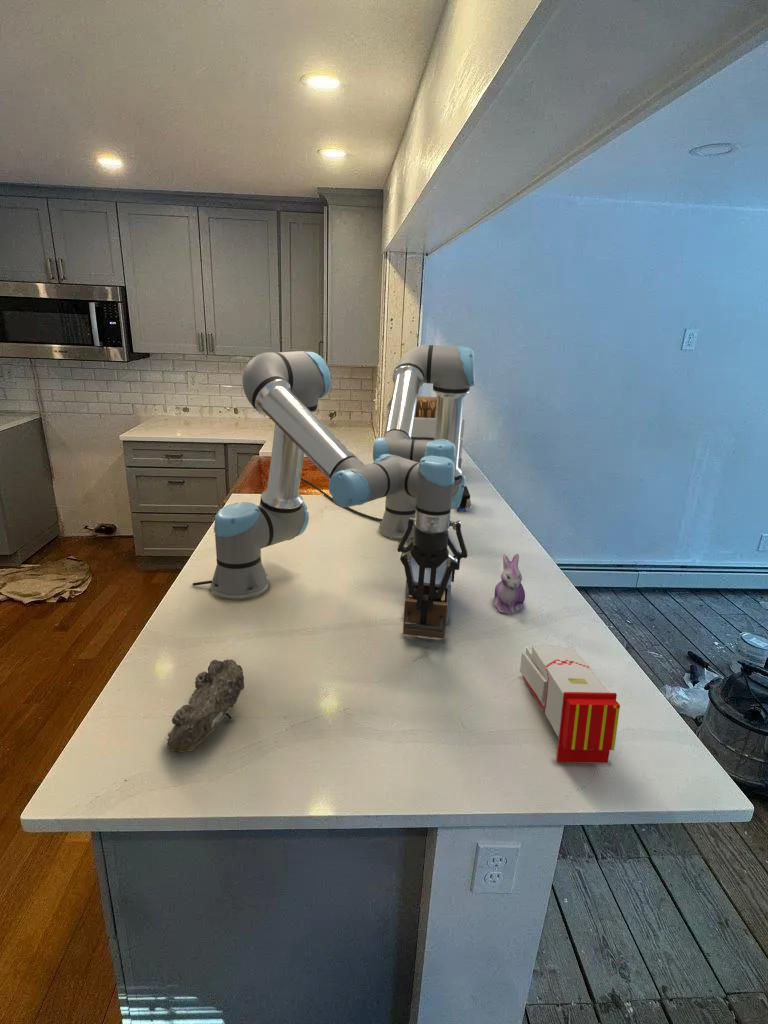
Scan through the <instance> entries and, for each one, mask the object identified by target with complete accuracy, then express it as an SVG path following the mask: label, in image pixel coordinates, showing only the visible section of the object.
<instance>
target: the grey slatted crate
mask: <svg viewBox="0 0 768 1024" xmlns="http://www.w3.org/2000/svg"><path fill="white" fill-rule="evenodd" d="M391 399H392V397H391V398H390V400H389V402H388V404H387V405H386V413H385V414H386V415H385V423H387V418H388V413H389V408H390V404H391ZM436 404H437V396H418V398H417V404H416V410H415V416H414V423H413V429H412V435H411V440H424V441H434V433H435V418H436ZM464 429H465V419H464V418H462V425H461V436H460V447H459V459H458V467H459V469H460V470H461V471H462V461H463V460H462V453H463V442H464V441H463V440H462V439H463V438H464V431H465V430H464Z"/></svg>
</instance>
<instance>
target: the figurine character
mask: <svg viewBox="0 0 768 1024" xmlns="http://www.w3.org/2000/svg"><path fill="white" fill-rule="evenodd" d="M471 501H472V500H471V494H470V491H469V488H468V486H467V485H464V491H463V495H462V499H461V503H460V506H459V507H458V508H457V509H456V511H457V512H460V510H463V511H464V513H466V512H467V509H470V508H471V505H472V504H471ZM466 508H467V509H466Z"/></svg>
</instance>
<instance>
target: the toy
mask: <svg viewBox="0 0 768 1024" xmlns="http://www.w3.org/2000/svg"><path fill="white" fill-rule="evenodd" d="M525 649H526V650H525V652H522V653H521V660H520V666H519V672H520V673H521V675H522V679H523V680H524V682H525V684H526V686H527V687H528V689H529V690H530V692H531V693H532V695H533V697H534V698H535V700H536V701H537V703H538V705H540V707H541V709H542V710H543V712H544V713H545V716H546V718H547V720H548V721H549V723H550V725H551V727H552V729H553V730H554V732H555V734H556V736H557V737H558V742H557V751H556V759H555V760H556V762H557V763H575V764H576V763H577V764H578V763H579V764H581V763H583V764H585V763H586V764H592V763H593V764H608V763H609V756H610V751H615V747H616V739H617V731H618V726H619V725H618V723H619V718H620V717H619V716H620V711H621V710H620V709H621V705H620V703H619V702H618V701H617V696H618V694H617V693H616V692H610V691H609V690H608V688H607V687H606V686H605V685H604V683H603V682H602V681H601V679H600V678H599V677H598V676H597V675H596V674H595V672H594V671H593V670H592V669H591V668H590V665H588V664H587V662H586V661H585V660H584V659H583V657H582V656H581V654H579V652H578V651H577V650H576V649H575V647H574V646H545V645H544V646H543V645H542V646H540V645H535V646H534V645H532V646H531V647H530V646H526V648H525Z"/></svg>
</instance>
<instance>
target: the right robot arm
mask: <svg viewBox="0 0 768 1024" xmlns="http://www.w3.org/2000/svg"><path fill="white" fill-rule="evenodd" d="M475 379H476V378H475V353H474V350H473V349H472V348H471V347H467V346H461V345H435V344H434V345H433V344H421V345H418V346H415V347H413V348H411V349H409V350H408V351H407V352H405V354H404V355H402V356H401V358H399V360H398V361H397V363H396V365H395V367H394V370H393V373H392V382H393V384H394V385H393V389H392V393H391V394H392V395H391V398H392V399H391V398H390V400H391V404H390V408H389V413H388V418H387V423H386V422H385V423H386V424H385V427H384V428H385V429H384V433H383V436H378V437H376V438H375V439H374V440H373V446H372V460H373V462H374V461H375V460H376V459H378V458H379V456H380V455H383V454H389V455H397V456H400V457H402V458H405V459H409V460H412V461H415V462H419V463H420V460H421V459H422V458H423V457H426V456H439V457H446V458H449V459H450V460H452V461H453V463H454V465H455V470H454V479H455V482H454V486H453V493H452V501H451V510H457V508H458V507H459V506H460V503H461V499H462V495H463V491H464V486H466V485H465V484H466V477H465V476H464V475H463V474H462V473H463V472H462V469H461V470H460V469H459V467H458V459H459V447H460V439H461V438H460V436H461V425H462V419H463V414H464V413H463V412H464V403H465V397H466V396H467V395H468V394H469V393H470V388H472V387H474V386H475V385H476V384H475V383H476V381H475ZM424 384H431V385H432V391H433V392H434V393H435V395H436V397H437V404H436V418H435V433H434V441H424V440H411V435H412V429H413V423H414V416H415V410H416V404H417V398H418V397H419V392H420V388H422V386H424ZM300 481H302V482H303V483H305V484H307V485H309V486H311V487H313V488H314V489H315V490H317V491H318V492H319V493H320V494H322V495H323V496H325V497H326V498H327V499H329V500H330V501H332V502H333V503H335V502H334V500H333V499H332V496H331V495H329V494H327V493H326V492H324V491H323V490H322V489H320V488H319V487H318V486H316V485H315V484H313V483H312V482H310V481H308V480H306V479H305V478H302V477H301V480H300ZM416 499H417V498H416V497H412V496H409V495H406V494H403V493H395V494H392V495H389V496H385V504H384V505H385V507H384V508H385V509H384V513H383V515H382V518H380V517H379V518H378V517H375V516H373V515H369V514H366V513H363V512H360V511H358V510H356V509H353V508H351V507H343V508H344V509H346V510H348V511H349V512H352V513H353V514H356V515H359V516H361V517H364V518H367V519H370V520H373V521H377V522H379V526H378V533H379V534H380V535H381V536H382V537H385V538H387V539H389V540H395V541H399V543H398V546H397V549H396V550H397V552H398V553H402V552H405V553H406V552H408V551H410V550H411V547H412V546H413V539H414V528H415V527H416V526H415V513H416ZM449 528H452V530H453V531H455V535H456V538H457V541H458V544H459V549H460V550H459V549H458V547H457V545H456V543H455V542H454V540H453V539H452V537H451V535H450V534H449V535H448V545H447V547H448V548H449V550H450V551H451V553H452V555H453V556H452V557H453V558H454V557H456V558H457V566H456V567H455V569H454V570H453V571H452V582H451V583H455V574H456V571H459V570H460V566H461V559H467V558H468V549H467V545H466V543H465V539H464V536H463V532H462V521H461V520H457V521H453V520H450V525H449ZM410 540H411V541H410ZM408 541H409V542H408ZM407 542H408V544H407V545H406V543H407ZM405 545H406V546H405Z"/></svg>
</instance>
